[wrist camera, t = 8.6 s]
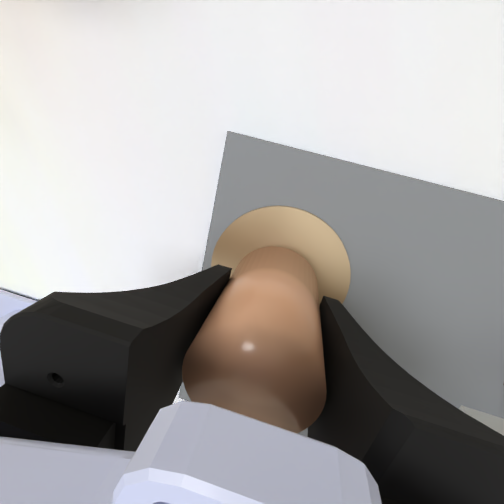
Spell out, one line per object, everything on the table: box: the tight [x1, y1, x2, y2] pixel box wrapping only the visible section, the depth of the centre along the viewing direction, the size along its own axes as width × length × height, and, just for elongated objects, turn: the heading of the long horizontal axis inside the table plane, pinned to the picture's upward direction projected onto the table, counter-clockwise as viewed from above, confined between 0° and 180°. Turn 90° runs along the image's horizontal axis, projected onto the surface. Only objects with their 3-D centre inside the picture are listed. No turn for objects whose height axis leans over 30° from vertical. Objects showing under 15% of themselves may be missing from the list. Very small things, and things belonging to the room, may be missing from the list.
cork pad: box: [211, 205, 351, 305], centre depth 14 cm, size 7×7×1 cm
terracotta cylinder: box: [182, 246, 327, 433], centre depth 10 cm, size 4×4×6 cm
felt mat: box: [179, 131, 504, 437], centre depth 15 cm, size 17×22×1 cm
